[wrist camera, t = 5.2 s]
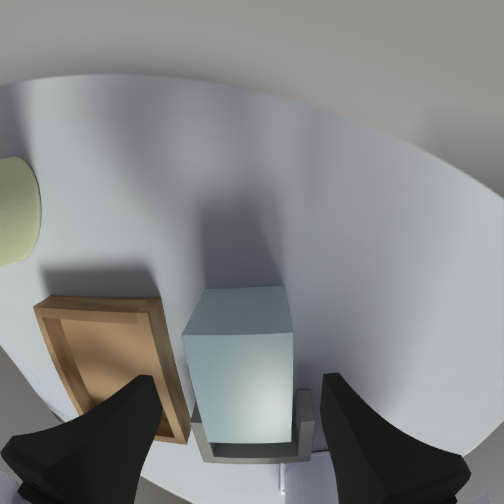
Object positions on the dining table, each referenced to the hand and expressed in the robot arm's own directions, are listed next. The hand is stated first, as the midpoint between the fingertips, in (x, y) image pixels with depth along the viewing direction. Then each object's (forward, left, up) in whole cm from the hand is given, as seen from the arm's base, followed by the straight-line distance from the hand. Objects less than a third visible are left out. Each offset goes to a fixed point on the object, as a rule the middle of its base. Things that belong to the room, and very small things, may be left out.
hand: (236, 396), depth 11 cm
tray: (-5, +11, -8) cm, 14 cm away
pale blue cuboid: (-2, 0, -8) cm, 8 cm away
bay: (-10, 0, -8) cm, 12 cm away
